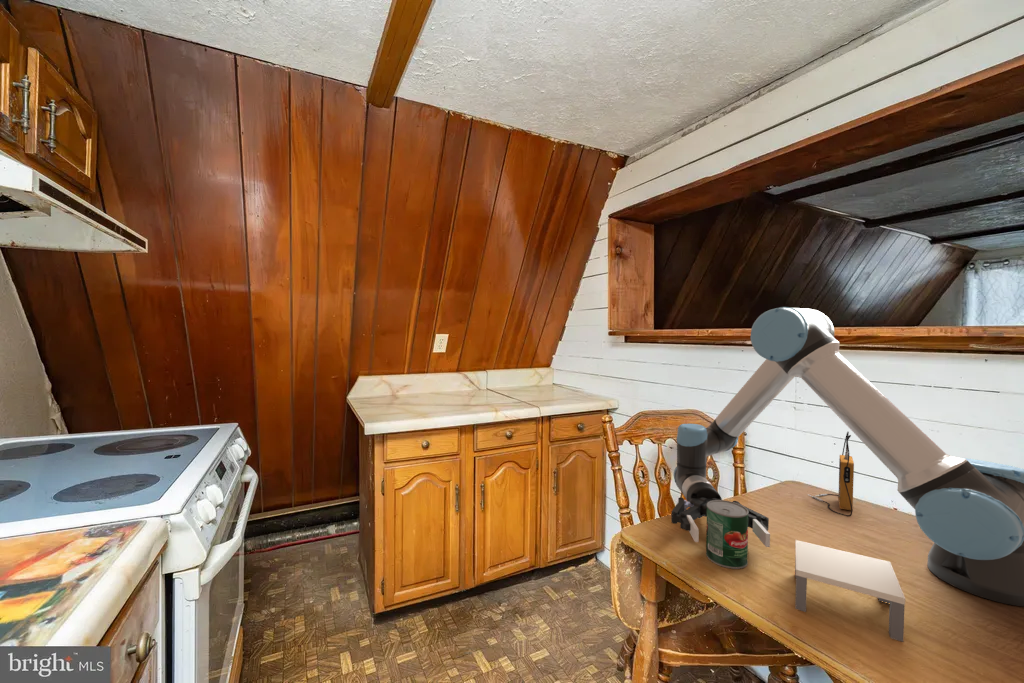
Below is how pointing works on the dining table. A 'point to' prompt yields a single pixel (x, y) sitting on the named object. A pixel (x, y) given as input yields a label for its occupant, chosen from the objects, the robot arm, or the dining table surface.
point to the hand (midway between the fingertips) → (732, 538)
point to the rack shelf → (850, 578)
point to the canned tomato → (727, 534)
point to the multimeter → (844, 480)
